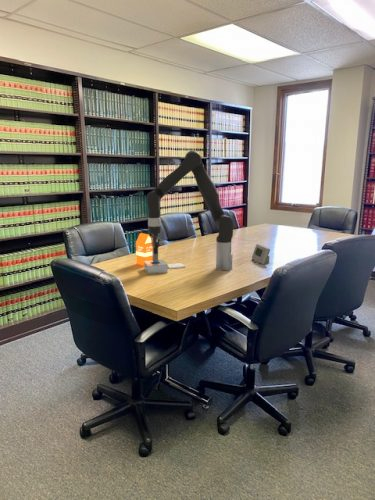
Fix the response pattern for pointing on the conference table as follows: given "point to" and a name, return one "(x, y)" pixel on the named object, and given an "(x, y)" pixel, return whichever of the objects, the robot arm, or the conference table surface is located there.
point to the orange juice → (143, 249)
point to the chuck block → (156, 267)
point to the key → (154, 256)
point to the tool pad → (176, 266)
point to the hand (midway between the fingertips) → (155, 253)
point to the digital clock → (261, 254)
